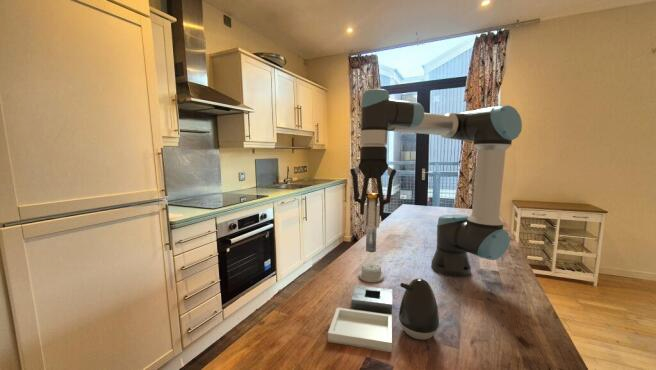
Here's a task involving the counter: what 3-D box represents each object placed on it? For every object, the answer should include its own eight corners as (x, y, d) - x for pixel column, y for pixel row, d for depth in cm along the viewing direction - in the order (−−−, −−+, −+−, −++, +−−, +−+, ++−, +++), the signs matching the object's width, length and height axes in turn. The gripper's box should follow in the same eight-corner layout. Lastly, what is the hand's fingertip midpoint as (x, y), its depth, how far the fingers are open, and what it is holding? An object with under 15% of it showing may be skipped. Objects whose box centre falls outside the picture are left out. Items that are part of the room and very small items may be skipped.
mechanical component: (357, 281, 104) (384, 284, 102) (357, 270, 103) (384, 272, 101) (359, 271, 113) (383, 273, 111) (359, 260, 113) (384, 262, 111)
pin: (377, 249, 83) (379, 193, 81) (376, 253, 79) (378, 194, 77) (365, 248, 84) (366, 192, 82) (364, 252, 80) (365, 194, 78)
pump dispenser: (392, 322, 78) (394, 271, 76) (427, 320, 79) (429, 270, 77) (405, 347, 68) (407, 289, 66) (445, 345, 69) (448, 288, 67)
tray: (391, 322, 78) (391, 314, 78) (391, 352, 66) (391, 342, 66) (337, 315, 82) (337, 307, 81) (327, 341, 70) (327, 332, 70)
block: (391, 302, 89) (392, 289, 88) (391, 318, 80) (392, 304, 79) (355, 298, 91) (355, 285, 91) (351, 313, 83) (351, 299, 82)
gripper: (402, 146, 80) (399, 224, 82) (348, 146, 84) (347, 221, 86) (402, 145, 73) (399, 231, 75) (343, 145, 76) (342, 227, 79)
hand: (371, 225), depth 81 cm, fingers closed on pin, 3 cm apart
